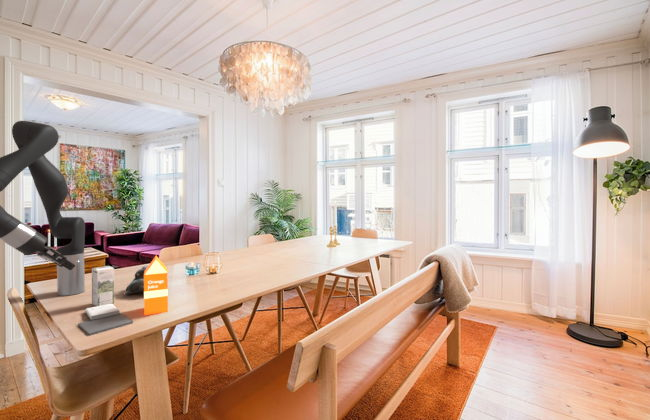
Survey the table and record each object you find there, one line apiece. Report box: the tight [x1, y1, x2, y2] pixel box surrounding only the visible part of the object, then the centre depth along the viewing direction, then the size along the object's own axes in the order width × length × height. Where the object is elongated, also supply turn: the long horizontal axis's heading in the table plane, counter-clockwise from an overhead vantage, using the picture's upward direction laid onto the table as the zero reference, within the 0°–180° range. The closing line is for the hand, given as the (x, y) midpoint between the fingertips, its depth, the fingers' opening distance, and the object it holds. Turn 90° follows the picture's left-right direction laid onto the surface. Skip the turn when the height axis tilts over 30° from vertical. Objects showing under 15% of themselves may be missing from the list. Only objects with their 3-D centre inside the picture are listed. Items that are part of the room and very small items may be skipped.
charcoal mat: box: [77, 312, 134, 336], centre depth 101 cm, size 12×12×1 cm
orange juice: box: [143, 255, 169, 316], centre depth 114 cm, size 8×9×20 cm
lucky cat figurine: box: [123, 265, 149, 296], centre depth 135 cm, size 15×12×14 cm
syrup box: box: [91, 265, 115, 307], centre depth 120 cm, size 6×6×14 cm
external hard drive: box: [85, 303, 121, 320], centre depth 109 cm, size 2×8×12 cm
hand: (68, 266), depth 110 cm, fingers open, 8 cm apart
